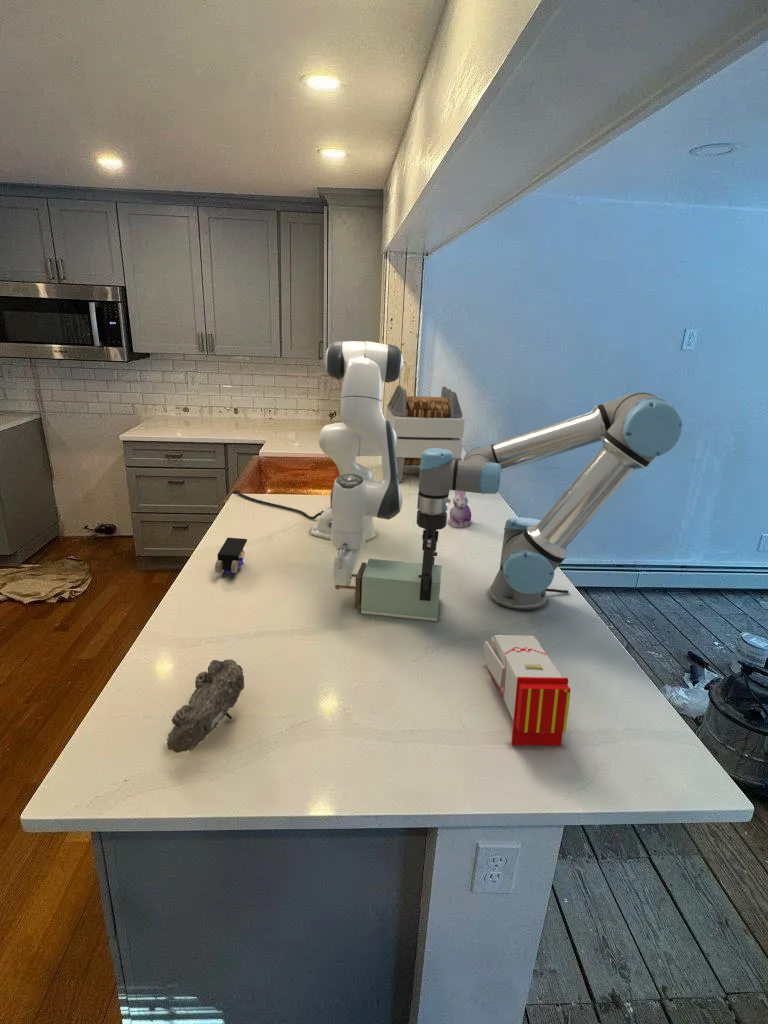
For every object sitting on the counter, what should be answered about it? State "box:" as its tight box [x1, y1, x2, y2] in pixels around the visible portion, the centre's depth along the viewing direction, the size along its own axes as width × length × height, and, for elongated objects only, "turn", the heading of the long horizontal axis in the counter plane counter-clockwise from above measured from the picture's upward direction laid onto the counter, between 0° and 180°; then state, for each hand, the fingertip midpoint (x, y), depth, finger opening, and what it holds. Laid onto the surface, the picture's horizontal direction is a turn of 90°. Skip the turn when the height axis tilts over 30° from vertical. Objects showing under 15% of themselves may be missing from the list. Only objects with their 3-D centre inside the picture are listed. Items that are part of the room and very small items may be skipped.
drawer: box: [334, 561, 367, 609], centre depth 150 cm, size 24×10×8 cm, turn 83°
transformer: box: [385, 384, 465, 483], centre depth 268 cm, size 34×33×41 cm
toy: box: [482, 634, 572, 747], centre depth 115 cm, size 12×13×30 cm
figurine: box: [448, 490, 472, 528], centre depth 209 cm, size 9×10×15 cm
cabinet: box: [360, 558, 443, 622], centre depth 150 cm, size 20×11×11 cm, turn 82°
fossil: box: [166, 658, 245, 754], centre depth 106 cm, size 22×10×15 cm
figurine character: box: [214, 537, 248, 578], centre depth 166 cm, size 7×8×15 cm
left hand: (347, 585), depth 151 cm, fingers closed
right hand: (426, 589), depth 149 cm, fingers closed on cabinet, 11 cm apart
